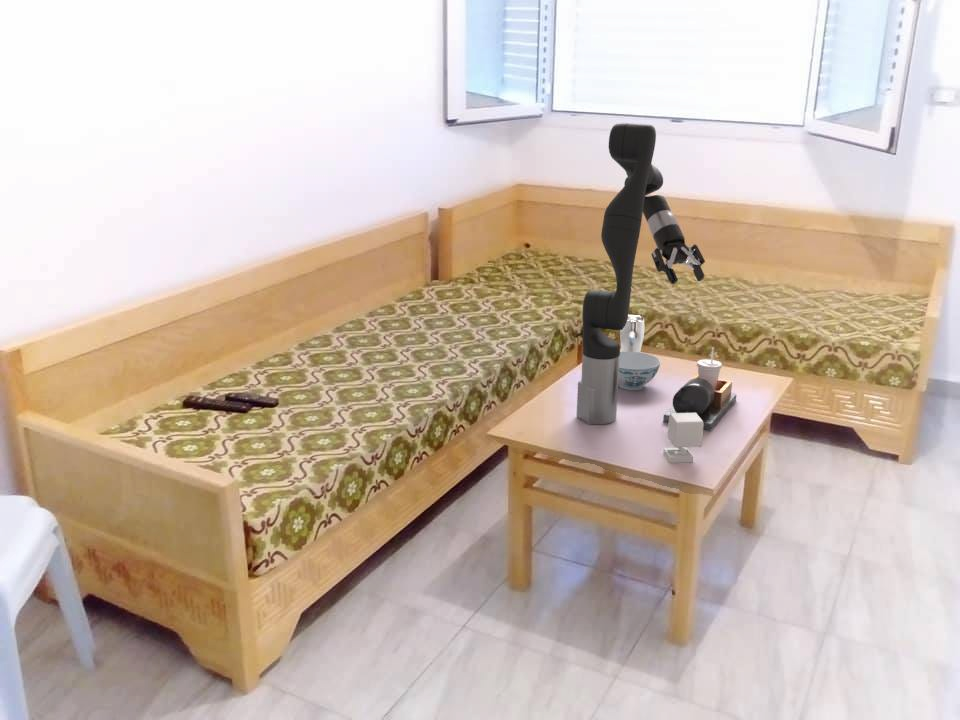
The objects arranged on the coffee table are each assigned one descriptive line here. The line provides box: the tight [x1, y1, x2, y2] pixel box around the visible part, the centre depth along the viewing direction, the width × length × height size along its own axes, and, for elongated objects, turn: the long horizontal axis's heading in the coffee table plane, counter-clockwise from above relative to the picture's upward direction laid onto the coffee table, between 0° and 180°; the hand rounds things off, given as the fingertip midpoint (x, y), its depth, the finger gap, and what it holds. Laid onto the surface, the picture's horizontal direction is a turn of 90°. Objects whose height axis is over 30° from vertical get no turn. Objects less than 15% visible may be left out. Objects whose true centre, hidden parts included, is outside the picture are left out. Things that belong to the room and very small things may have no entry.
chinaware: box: [618, 351, 661, 391], centre depth 251 cm, size 15×15×8 cm
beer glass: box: [619, 314, 645, 352], centre depth 265 cm, size 7×7×15 cm
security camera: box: [663, 413, 704, 464], centre depth 206 cm, size 6×7×10 cm
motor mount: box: [663, 374, 737, 432], centre depth 233 cm, size 24×12×10 cm, turn 150°
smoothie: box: [696, 346, 723, 390], centre depth 236 cm, size 6×6×14 cm
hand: (688, 281), depth 240 cm, fingers open, 8 cm apart
